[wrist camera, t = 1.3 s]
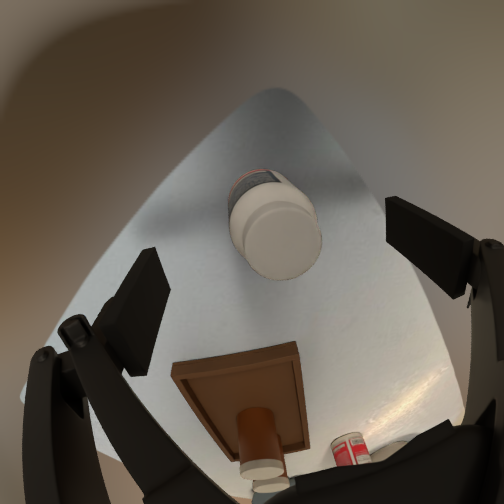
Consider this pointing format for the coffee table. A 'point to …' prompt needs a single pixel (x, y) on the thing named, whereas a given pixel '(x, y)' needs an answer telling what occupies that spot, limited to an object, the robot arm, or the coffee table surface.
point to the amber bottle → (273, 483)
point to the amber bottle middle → (258, 444)
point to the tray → (247, 394)
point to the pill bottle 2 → (350, 450)
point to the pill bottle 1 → (273, 225)
